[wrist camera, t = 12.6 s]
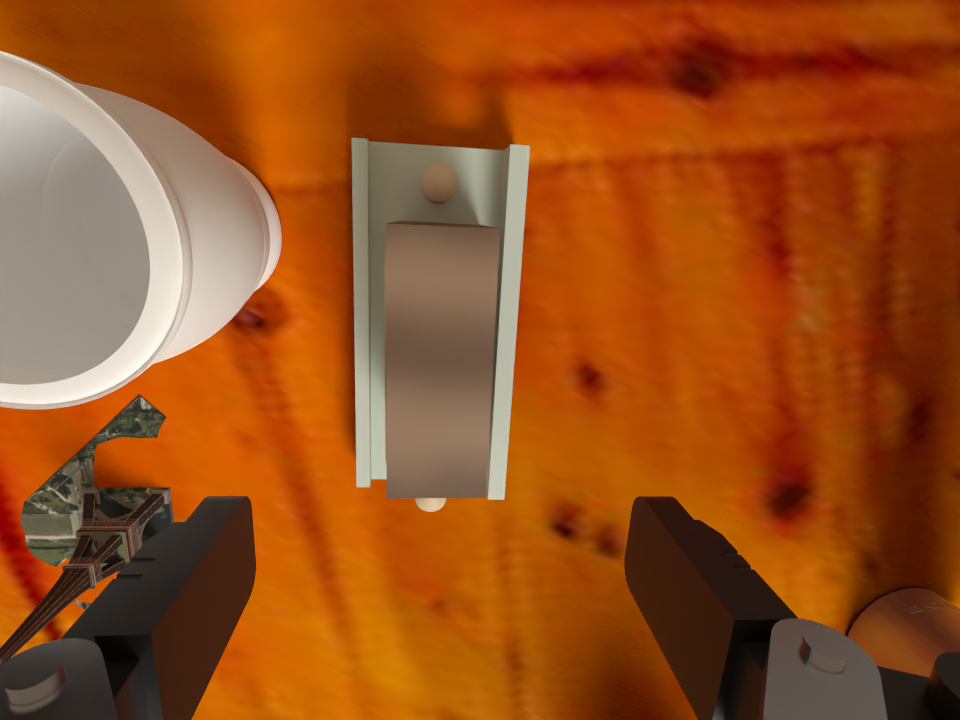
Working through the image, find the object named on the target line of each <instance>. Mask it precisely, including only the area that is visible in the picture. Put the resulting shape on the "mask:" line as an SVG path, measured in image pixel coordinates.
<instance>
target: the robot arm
mask: <svg viewBox="0 0 960 720" xmlns="http://www.w3.org/2000/svg"><path fill="white" fill-rule="evenodd" d="M255 572H256V558H255V545H254V532H253V519H252V507H251V502H250V499H249V498H248V497H247V496H208V497H206V498H205V499H204V500H203V501H202V502H201V503H200V504H199V506H198V507H197V508H196V509H195V511H194V512H193V513H192V514H191V516H190V517H189V518H188V519H187V521H186V522H174V523H173V524H171V525H169V526H168V527H166V528H165V529H163V530H162V531H160V532H158V533H157V534H155V535H154V536H152V537H151V538H149V539H148V540H147V541H146V542H145V543H144V544H143V546H142V547H141V548H140V549H139V550H138V551H137V552H136V554H135V555H134V556H133V557H132V558H131V562H128V563H127V564H126V565H125V566H124V567H123V568H122V570H121V571H120V572H119V573H118V574H117V578H116V579H113V580H112V581H111V582H110V583H109V584H108V586H107V587H106V588H105V589H104V590H103V591H102V592H101V594H100V595H99V596H98V597H97V598H96V599H95V600H94V601H93V603H92V604H91V605H90V606H89V607H88V608H87V609H86V611H85V612H84V613H83V614H82V615H81V616H80V617H79V619H78V620H77V621H76V622H75V623H74V624H73V625H72V627H71V628H70V629H69V630H68V631H67V632H66V633H65V635H64V636H63V637H62V638H61V639H60V640H55V641H51V642H47V643H44V644H41V645H38V646H35V647H32V648H30V649H28V650H26V651H23V652H21V653H19V654H17V655H15V656H13V657H11V658H10V659H8V660H6V661H5V662H3V663H2V664H0V720H191V719H192V717H193V715H194V713H195V711H196V709H197V707H198V704H199V702H200V700H201V698H202V696H203V694H204V692H205V690H206V688H207V686H208V683H209V681H210V679H211V677H212V675H213V673H214V671H215V669H216V667H217V665H218V663H219V660H220V658H221V656H222V654H223V652H224V650H225V648H226V646H227V644H228V642H229V639H230V637H231V635H232V633H233V631H234V629H235V627H236V625H237V623H238V621H239V619H240V616H241V614H242V612H243V610H244V608H245V606H246V604H247V602H248V600H249V598H250V595H251V592H252V589H253V585H254V580H255ZM625 575H626V580H627V584H628V587H629V589H630V592H631V594H632V595H633V597H634V599H635V601H636V603H637V605H638V607H639V609H640V611H641V612H642V614H643V616H644V618H645V620H646V622H647V624H648V626H649V628H650V629H651V631H652V633H653V635H654V637H655V639H656V641H657V643H658V645H659V646H660V648H661V650H662V652H663V654H664V656H665V658H666V660H667V662H668V663H669V665H670V667H671V669H672V671H673V673H674V675H675V677H676V679H677V680H678V682H679V684H680V686H681V688H682V690H683V692H684V694H685V696H686V697H687V699H688V701H689V703H690V705H691V707H692V709H693V711H694V713H695V715H696V716H697V718H698V720H960V609H958V608H957V607H956V606H954V605H953V604H951V603H950V602H948V601H947V600H946V599H944V598H943V597H942V596H940V595H939V594H937V593H936V592H934V591H931V590H928V589H924V588H908V589H901V590H898V591H895V592H891V593H889V594H887V595H885V596H883V597H881V598H879V599H878V600H876V601H875V602H873V603H872V604H871V605H869V606H868V607H867V608H866V609H865V610H864V611H863V612H862V613H861V614H860V615H859V617H858V618H857V619H856V620H855V622H854V623H853V625H852V627H851V629H850V631H849V634H848V637H846V636H845V635H843V634H842V633H840V632H838V631H836V630H834V629H832V628H830V627H828V626H825V625H823V624H820V623H817V622H814V621H810V620H805V619H798V617H797V616H796V615H795V614H794V613H793V612H792V611H791V610H790V609H789V608H788V606H787V605H786V604H785V603H784V602H783V601H782V600H781V599H780V598H779V597H778V596H777V594H776V593H775V592H774V591H773V590H772V589H771V588H770V587H769V586H768V585H767V583H766V582H765V581H764V580H763V579H762V578H761V577H760V576H759V575H758V574H757V572H756V571H755V570H751V566H750V565H749V564H748V563H747V561H746V560H745V559H744V558H743V557H742V556H741V555H738V553H737V550H736V549H735V548H734V547H733V546H732V545H731V544H730V543H729V542H728V541H727V540H726V538H725V537H724V536H723V535H722V534H720V533H719V532H717V531H716V530H714V529H713V528H711V527H709V526H708V525H706V524H705V523H703V522H702V521H700V520H694V519H693V518H692V517H691V516H690V515H689V514H688V512H687V511H686V510H685V509H684V508H683V507H682V505H681V504H680V503H679V502H678V501H677V500H676V499H675V498H674V497H637V498H636V499H635V501H634V503H633V507H632V513H631V520H630V526H629V533H628V540H627V547H626V553H625Z"/></svg>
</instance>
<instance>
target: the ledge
mask: <svg viewBox="0 0 960 720" xmlns="http://www.w3.org/2000/svg"><path fill="white" fill-rule="evenodd" d="M529 153H530V146H528V145H513V144H510V145H509V146H508V147H507V148H506V149H504V150H491V149H476V148H462V147H447V146H432V145H418V144H403V143H388V142H373V141H369V140H368V139H367V138H352V201H353V271H354V340H355V410H356V479H357V487H370V484H371V479H387V462H385V275H384V253H385V252H386V225H385V224H386V223H391V222H396V221H412V222H434V223H455V224H477V225H484V226H489V227H494V228H499V229H500V245H499V263H498V282H497V300H496V318H495V337H494V355H493V374H492V392H491V410H490V429H489V447H488V466H487V484H486V493H487V497H488V500H504V497H505V483H506V469H507V455H508V442H509V428H510V414H511V400H512V387H513V373H514V359H515V345H516V332H517V318H518V304H519V290H520V277H521V263H522V249H523V235H524V222H525V208H526V194H527V181H528V167H529ZM415 500H416V504H417V505H418V507H419V508H421V509H422V510H424V511H428V512H433V511H437V510H439V509H440V508H442V507H443V506H444V504H445V502H446V498H415Z"/></svg>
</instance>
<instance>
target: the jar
mask: <svg viewBox="0 0 960 720" xmlns="http://www.w3.org/2000/svg"><path fill="white" fill-rule="evenodd" d="M281 244H282V232H281V224H280V220H279V216H278V213H277V210H276V207H275V205H274V203H273V201H272V199H271V197H270V195H269V194H268V192H267V191H266V189H265V188H264V186H263V185H262V184H261V183H260V181H259V180H258V179H257V178H256V177H255V176H254V175H253V174H252V173H251V172H250V171H248V170H247V169H246V168H245V167H243V166H242V165H241V164H239V163H238V162H236V161H234V160H233V159H231V158H229V157H227V156H225V155H224V154H223V153H221V152H220V151H219V150H218V149H216V148H215V147H214V146H212V145H211V144H210V143H209V142H208V141H206V140H205V139H204V138H203V137H201V136H200V135H199V134H197V133H196V132H194V131H193V130H192V129H190V128H189V127H187V126H186V125H184V124H182V123H181V122H179V121H178V120H176V119H174V118H172V117H171V116H169V115H167V114H165V113H163V112H161V111H159V110H157V109H155V108H153V107H151V106H149V105H147V104H144V103H142V102H140V101H137V100H135V99H132V98H130V97H127V96H124V95H121V94H118V93H115V92H112V91H108V90H105V89H101V88H97V87H93V86H89V85H85V84H80V83H75V82H73V81H71V80H69V79H68V78H66V77H64V76H62V75H60V74H59V73H57V72H55V71H53V70H51V69H49V68H47V67H45V66H42V65H40V64H38V63H35V62H33V61H30V60H28V59H25V58H22V57H19V56H16V55H13V54H10V53H7V52H4V51H0V407H6V408H15V409H54V408H62V407H68V406H74V405H78V404H82V403H86V402H89V401H92V400H95V399H98V398H100V397H103V396H105V395H107V394H109V393H111V392H113V391H115V390H117V389H119V388H120V387H122V386H124V385H125V384H127V383H128V382H130V381H131V380H133V379H134V378H136V377H137V376H139V375H140V374H141V373H143V372H144V371H145V370H146V369H147V368H149V367H150V366H151V365H152V364H154V363H157V362H160V361H163V360H166V359H169V358H171V357H174V356H176V355H178V354H181V353H183V352H185V351H187V350H189V349H191V348H193V347H195V346H197V345H198V344H200V343H202V342H203V341H205V340H206V339H208V338H209V337H211V336H212V335H214V334H215V333H216V332H217V331H219V330H220V329H221V328H222V327H224V326H225V325H226V324H227V323H228V322H229V321H230V320H231V319H232V318H233V317H234V316H235V315H236V314H237V312H238V311H239V310H240V309H241V308H242V306H243V305H244V303H245V302H246V301H247V300H248V299H249V298H250V296H251V295H252V294H253V292H254V291H256V290H257V289H258V288H260V287H261V286H262V285H263V284H264V283H265V282H266V281H267V280H268V278H269V277H270V276H271V274H272V272H273V271H274V269H275V267H276V265H277V262H278V259H279V256H280V252H281Z"/></svg>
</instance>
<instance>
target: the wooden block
mask: <svg viewBox="0 0 960 720" xmlns="http://www.w3.org/2000/svg"><path fill="white" fill-rule="evenodd" d="M385 225H386V252H385V253H384V275H385V462H387V499H393V498H486V484H487V466H488V447H489V429H490V410H491V392H492V374H493V355H494V337H495V318H496V300H497V282H498V263H499V245H500V229H499V228H494V227H489V226H484V225H477V224H455V223H434V222H412V221H396V222H391V223H386V224H385Z"/></svg>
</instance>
